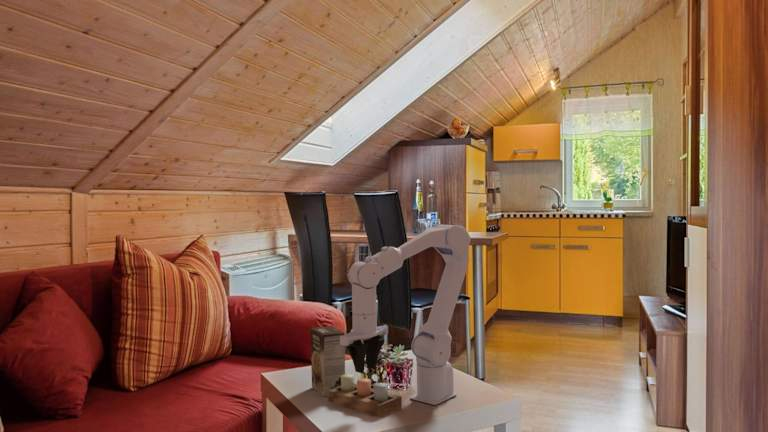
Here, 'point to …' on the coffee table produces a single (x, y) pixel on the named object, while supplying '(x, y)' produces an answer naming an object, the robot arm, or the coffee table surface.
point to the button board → (365, 402)
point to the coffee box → (327, 359)
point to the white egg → (381, 392)
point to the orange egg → (363, 387)
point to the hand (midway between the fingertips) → (365, 370)
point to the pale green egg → (347, 383)
